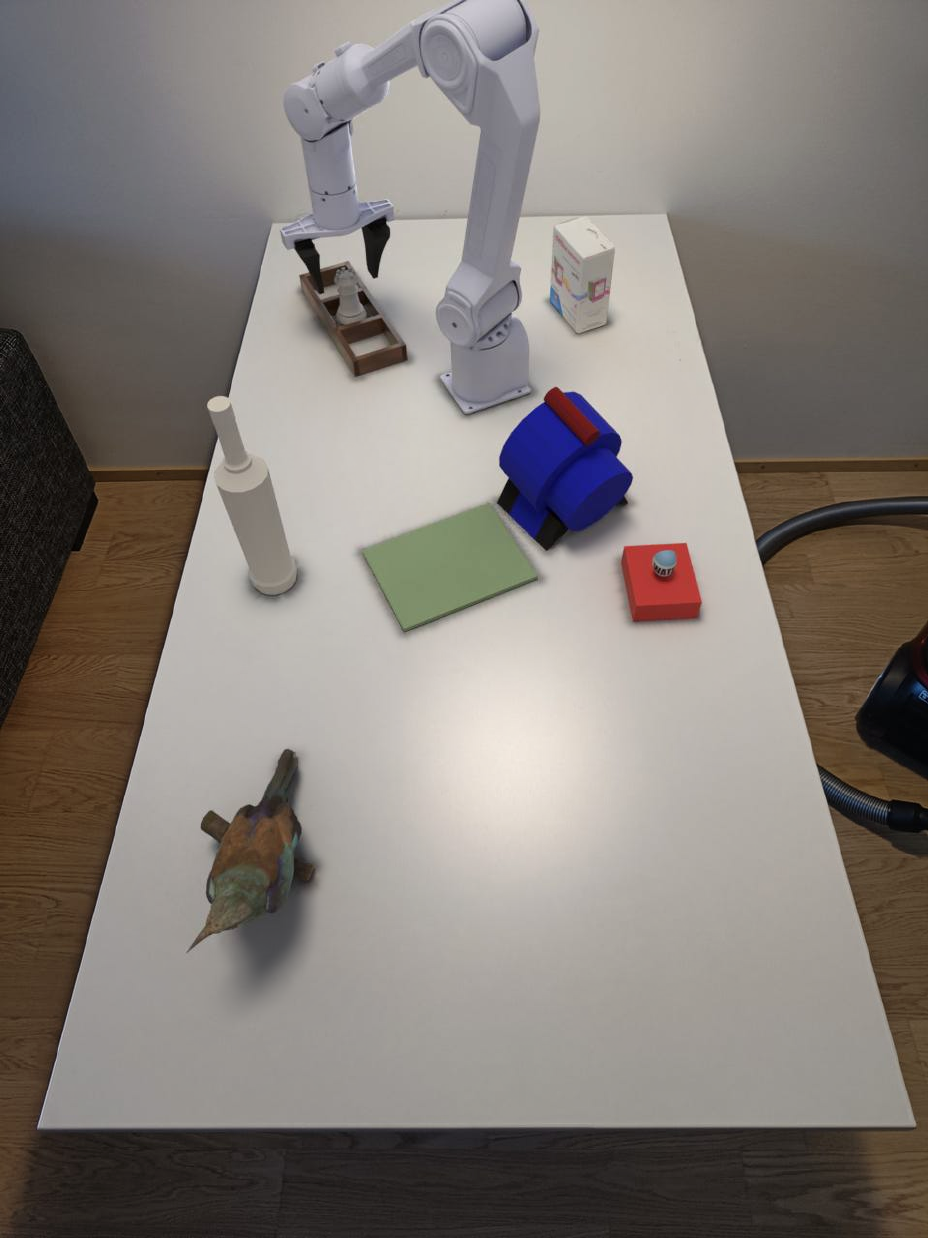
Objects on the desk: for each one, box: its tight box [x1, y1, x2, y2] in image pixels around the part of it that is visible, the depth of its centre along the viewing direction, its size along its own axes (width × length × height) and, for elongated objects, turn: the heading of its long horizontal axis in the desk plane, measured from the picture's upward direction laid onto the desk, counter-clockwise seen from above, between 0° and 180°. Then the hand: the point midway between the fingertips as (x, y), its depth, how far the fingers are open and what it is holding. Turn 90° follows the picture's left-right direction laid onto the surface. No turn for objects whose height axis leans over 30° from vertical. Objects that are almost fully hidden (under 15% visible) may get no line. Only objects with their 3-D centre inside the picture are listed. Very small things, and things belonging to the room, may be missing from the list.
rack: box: [298, 260, 408, 378], centre depth 122 cm, size 8×21×2 cm, turn 25°
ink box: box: [549, 215, 616, 334], centre depth 119 cm, size 9×5×12 cm, turn 25°
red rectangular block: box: [620, 542, 703, 622], centre depth 93 cm, size 8×7×6 cm
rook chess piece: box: [334, 267, 369, 327], centre depth 120 cm, size 4×4×8 cm
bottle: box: [206, 395, 298, 596], centre depth 87 cm, size 5×5×25 cm
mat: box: [361, 502, 539, 633], centre depth 98 cm, size 16×12×1 cm
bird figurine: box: [186, 748, 315, 954], centre depth 75 cm, size 13×10×20 cm
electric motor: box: [496, 386, 634, 551], centre depth 97 cm, size 12×12×15 cm
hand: (346, 281), depth 118 cm, fingers open, 7 cm apart
